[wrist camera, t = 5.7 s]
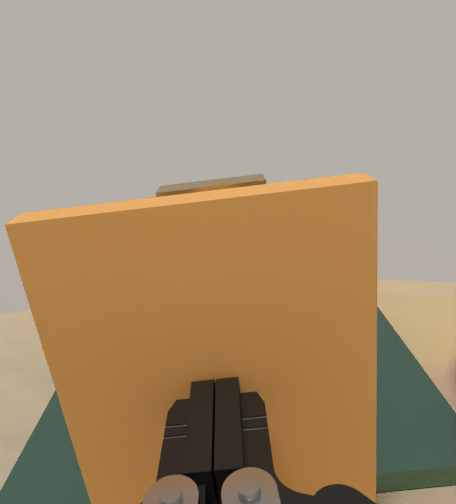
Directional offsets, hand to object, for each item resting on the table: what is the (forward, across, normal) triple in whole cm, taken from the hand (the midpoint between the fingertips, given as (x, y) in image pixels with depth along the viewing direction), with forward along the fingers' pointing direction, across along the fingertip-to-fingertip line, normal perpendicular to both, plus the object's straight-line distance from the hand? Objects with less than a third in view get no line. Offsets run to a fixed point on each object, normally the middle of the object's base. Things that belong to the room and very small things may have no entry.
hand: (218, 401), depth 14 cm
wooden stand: (+5, 0, +5) cm, 7 cm away
